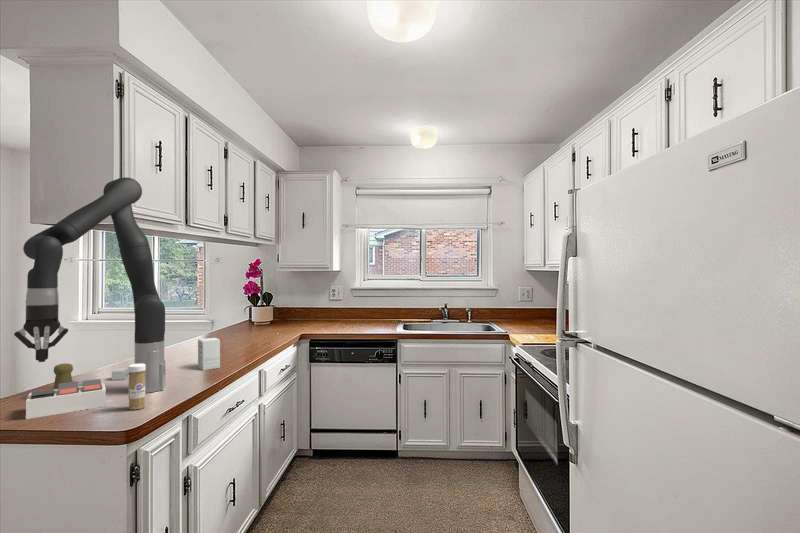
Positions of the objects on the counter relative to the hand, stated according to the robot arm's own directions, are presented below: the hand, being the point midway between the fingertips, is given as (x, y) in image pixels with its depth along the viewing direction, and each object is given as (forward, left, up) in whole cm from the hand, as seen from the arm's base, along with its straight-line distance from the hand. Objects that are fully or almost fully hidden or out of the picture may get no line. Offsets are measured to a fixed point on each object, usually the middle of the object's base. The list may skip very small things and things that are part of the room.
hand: (41, 361), depth 129 cm
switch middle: (-5, -4, -10) cm, 12 cm away
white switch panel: (-5, -4, -16) cm, 17 cm away
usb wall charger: (-13, -40, -16) cm, 45 cm away
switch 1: (0, -2, -11) cm, 11 cm away
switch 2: (-11, -5, -10) cm, 16 cm away
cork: (+1, -20, -16) cm, 25 cm away
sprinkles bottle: (-25, +4, -16) cm, 30 cm away
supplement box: (-43, -48, -16) cm, 67 cm away
